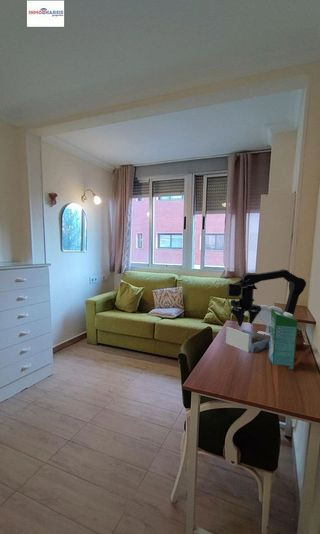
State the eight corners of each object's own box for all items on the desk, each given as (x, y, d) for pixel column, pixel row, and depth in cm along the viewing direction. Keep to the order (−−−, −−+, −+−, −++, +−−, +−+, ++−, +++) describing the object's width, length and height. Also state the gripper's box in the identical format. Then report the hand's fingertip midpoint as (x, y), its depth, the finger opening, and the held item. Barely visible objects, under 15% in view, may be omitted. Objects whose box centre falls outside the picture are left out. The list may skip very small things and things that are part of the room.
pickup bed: (271, 349, 134) (272, 339, 133) (253, 356, 124) (254, 345, 124) (241, 337, 149) (242, 328, 149) (223, 343, 140) (224, 334, 139)
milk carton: (293, 369, 112) (298, 315, 110) (272, 367, 114) (276, 313, 112) (287, 360, 121) (291, 310, 119) (268, 358, 123) (271, 308, 120)
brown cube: (262, 345, 134) (263, 337, 134) (259, 348, 131) (259, 339, 131) (254, 343, 137) (255, 335, 137) (250, 345, 134) (251, 337, 134)
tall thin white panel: (249, 351, 126) (250, 334, 125) (247, 352, 125) (248, 335, 125) (227, 342, 137) (228, 326, 137) (225, 342, 137) (226, 327, 136)
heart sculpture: (253, 332, 159) (255, 305, 157) (254, 330, 163) (256, 303, 161) (280, 337, 151) (282, 308, 149) (281, 335, 155) (283, 306, 154)
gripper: (245, 292, 146) (243, 318, 147) (223, 295, 135) (222, 323, 137) (262, 296, 136) (260, 323, 138) (240, 299, 126) (238, 329, 128)
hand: (245, 325), depth 135 cm, fingers open, 9 cm apart
